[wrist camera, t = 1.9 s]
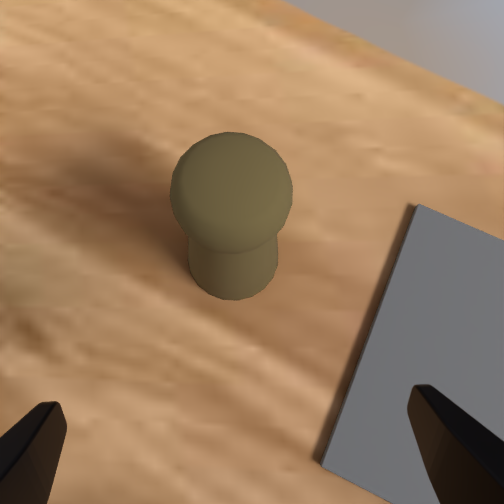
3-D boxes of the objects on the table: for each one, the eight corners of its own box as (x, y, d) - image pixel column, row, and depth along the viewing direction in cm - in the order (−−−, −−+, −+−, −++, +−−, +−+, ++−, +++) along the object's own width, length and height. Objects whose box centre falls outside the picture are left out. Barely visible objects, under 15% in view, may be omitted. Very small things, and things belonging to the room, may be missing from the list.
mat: (558, 588, 20) (566, 593, 19) (319, 464, 21) (321, 466, 21) (610, 291, 25) (617, 290, 25) (415, 206, 26) (418, 203, 26)
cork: (190, 305, 24) (154, 255, 13) (185, 217, 25) (149, 112, 15) (283, 295, 24) (321, 240, 14) (272, 210, 26) (297, 102, 15)
